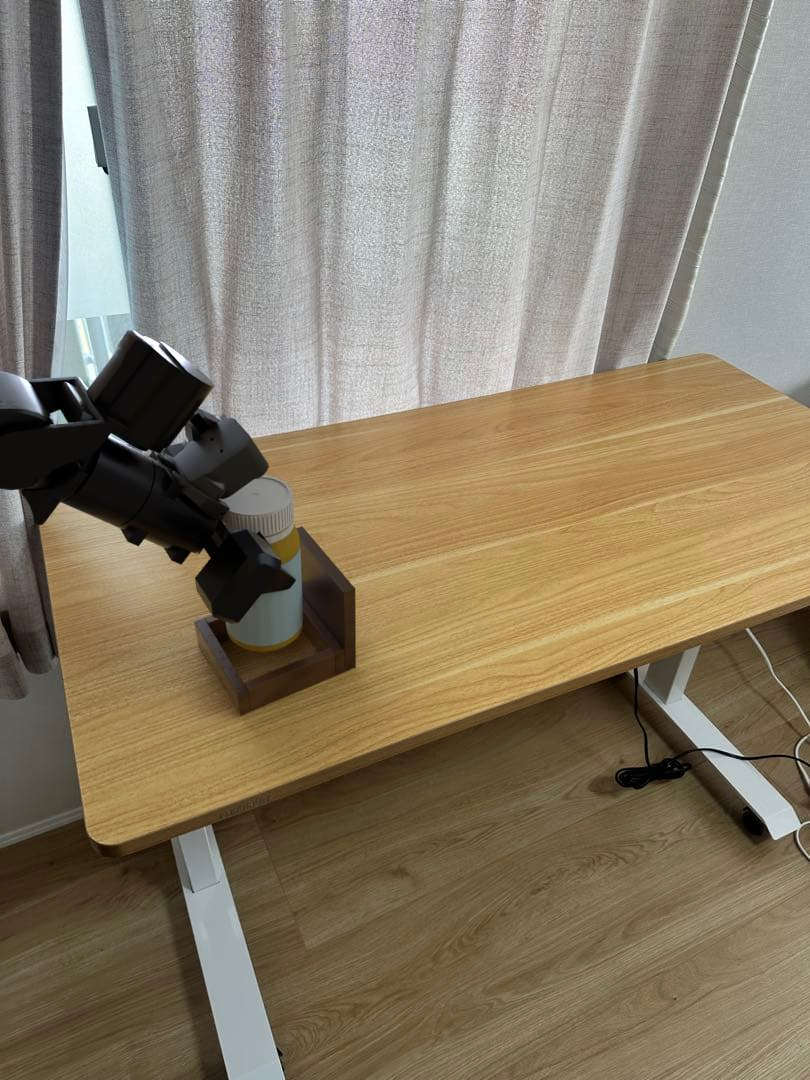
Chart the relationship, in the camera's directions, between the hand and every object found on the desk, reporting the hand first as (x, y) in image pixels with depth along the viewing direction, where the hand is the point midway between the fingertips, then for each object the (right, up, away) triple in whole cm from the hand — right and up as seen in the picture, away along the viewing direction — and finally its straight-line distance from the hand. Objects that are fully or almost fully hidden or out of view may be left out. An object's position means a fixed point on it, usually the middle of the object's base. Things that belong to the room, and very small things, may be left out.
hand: (274, 561), depth 71 cm
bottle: (-1, -7, +4) cm, 8 cm away
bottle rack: (-1, -9, +6) cm, 12 cm away
